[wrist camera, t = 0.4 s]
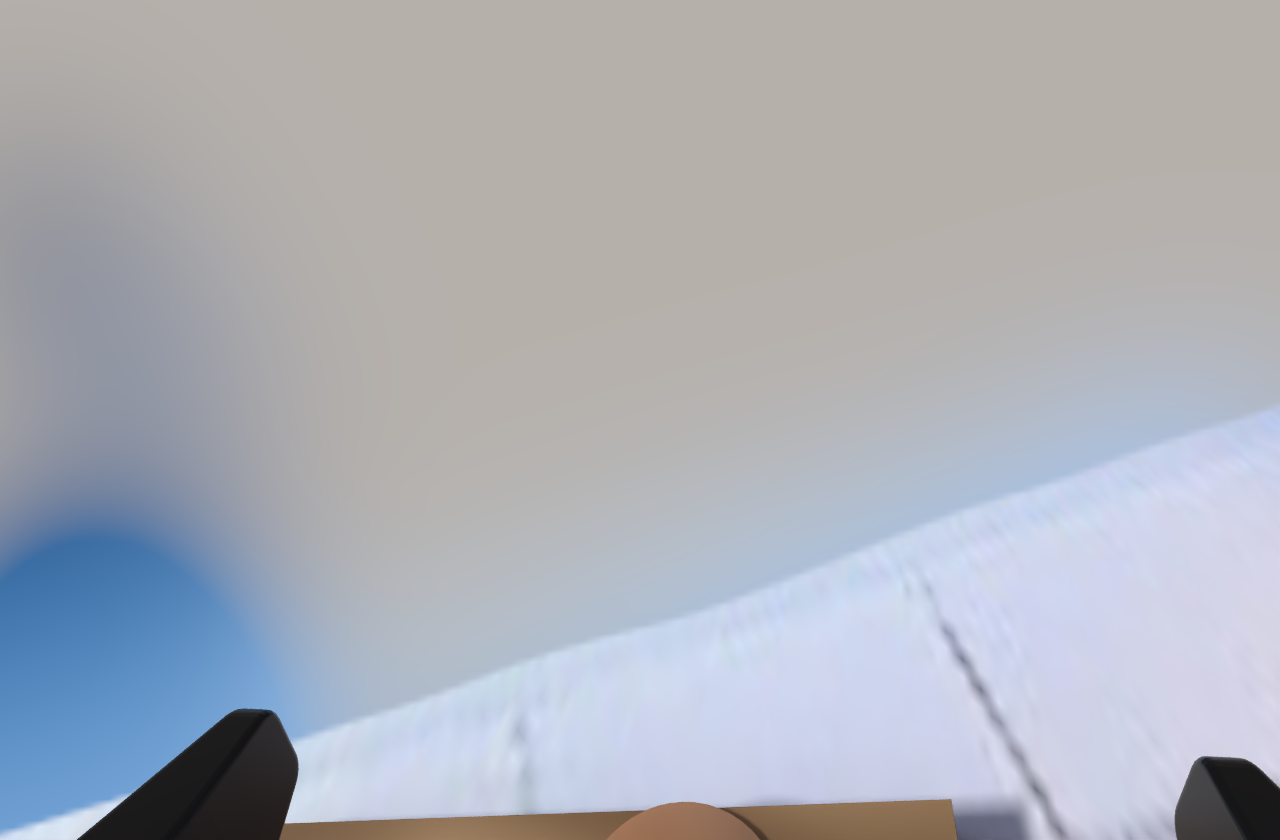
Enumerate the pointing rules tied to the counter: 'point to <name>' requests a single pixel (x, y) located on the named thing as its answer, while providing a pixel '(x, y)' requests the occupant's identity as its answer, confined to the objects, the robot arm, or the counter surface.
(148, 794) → the robot arm
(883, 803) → the board
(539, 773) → the counter surface
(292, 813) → the counter surface
